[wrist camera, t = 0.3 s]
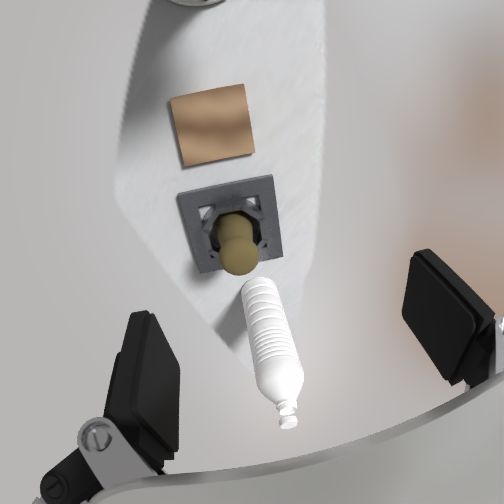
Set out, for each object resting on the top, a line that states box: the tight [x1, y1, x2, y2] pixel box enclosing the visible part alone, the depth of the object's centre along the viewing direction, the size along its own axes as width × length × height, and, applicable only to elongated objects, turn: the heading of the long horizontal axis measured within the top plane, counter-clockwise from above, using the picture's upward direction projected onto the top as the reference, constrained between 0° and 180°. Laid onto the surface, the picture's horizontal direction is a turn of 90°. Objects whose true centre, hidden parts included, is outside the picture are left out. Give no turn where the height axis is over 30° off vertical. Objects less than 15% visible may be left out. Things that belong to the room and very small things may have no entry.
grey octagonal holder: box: [178, 174, 283, 273], centre depth 46 cm, size 14×14×4 cm
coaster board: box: [170, 84, 255, 167], centre depth 39 cm, size 10×10×1 cm
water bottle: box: [241, 277, 304, 429], centre depth 45 cm, size 9×6×25 cm
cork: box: [214, 210, 259, 276], centre depth 43 cm, size 6×6×11 cm
